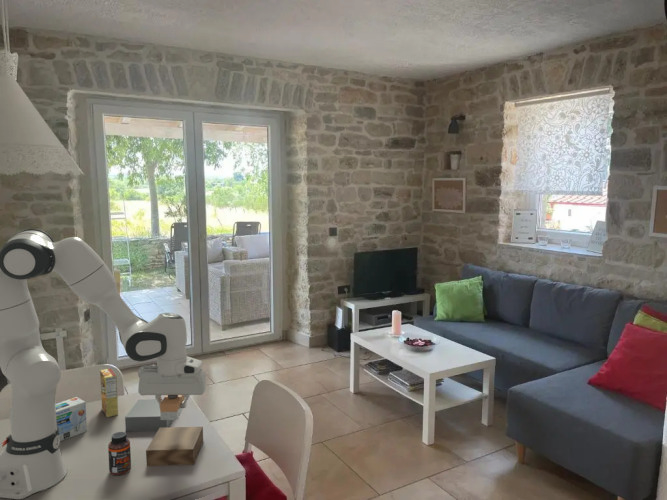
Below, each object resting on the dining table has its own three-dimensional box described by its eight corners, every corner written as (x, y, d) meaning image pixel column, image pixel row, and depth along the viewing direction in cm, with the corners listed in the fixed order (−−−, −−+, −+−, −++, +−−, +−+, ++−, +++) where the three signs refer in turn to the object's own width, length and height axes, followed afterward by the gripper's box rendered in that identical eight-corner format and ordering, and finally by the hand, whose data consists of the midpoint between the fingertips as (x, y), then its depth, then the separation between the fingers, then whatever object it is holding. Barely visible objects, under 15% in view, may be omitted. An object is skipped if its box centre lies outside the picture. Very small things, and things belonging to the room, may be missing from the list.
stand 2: (146, 466, 147) (145, 450, 146) (160, 441, 161) (159, 427, 160) (193, 464, 148) (193, 449, 147) (203, 440, 162) (202, 426, 161)
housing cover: (177, 411, 147) (176, 400, 147) (160, 411, 147) (160, 400, 146) (185, 398, 157) (184, 387, 157) (169, 398, 157) (169, 387, 156)
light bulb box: (55, 443, 159) (53, 412, 158) (46, 437, 163) (44, 406, 162) (88, 430, 168) (86, 401, 166) (78, 425, 172) (76, 396, 170)
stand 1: (125, 431, 168) (125, 417, 167) (139, 412, 182) (138, 399, 181) (167, 429, 169) (166, 416, 168) (177, 411, 182) (176, 398, 182)
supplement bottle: (117, 478, 140) (115, 442, 139) (105, 472, 143) (102, 436, 142) (135, 468, 145) (133, 433, 144) (123, 462, 148) (121, 427, 147)
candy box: (101, 409, 184) (99, 370, 182) (113, 406, 187) (111, 367, 185) (106, 418, 177) (104, 377, 175) (119, 414, 180) (117, 375, 178)
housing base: (177, 419, 147) (177, 411, 147) (160, 419, 147) (160, 412, 147) (185, 405, 157) (185, 398, 157) (169, 405, 157) (169, 398, 157)
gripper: (134, 368, 147) (135, 412, 148) (203, 368, 148) (203, 411, 150) (141, 361, 153) (142, 403, 155) (207, 361, 154) (207, 402, 156)
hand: (173, 407), depth 152 cm, fingers closed on housing base, housing cover, 5 cm apart
